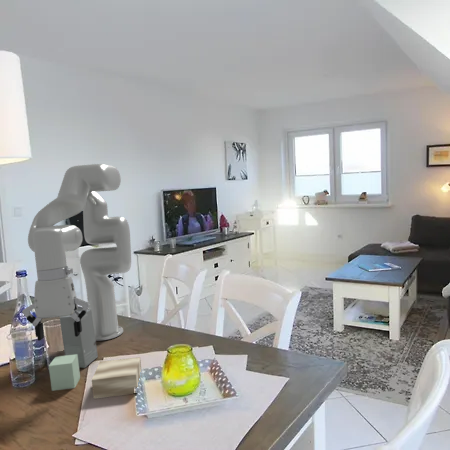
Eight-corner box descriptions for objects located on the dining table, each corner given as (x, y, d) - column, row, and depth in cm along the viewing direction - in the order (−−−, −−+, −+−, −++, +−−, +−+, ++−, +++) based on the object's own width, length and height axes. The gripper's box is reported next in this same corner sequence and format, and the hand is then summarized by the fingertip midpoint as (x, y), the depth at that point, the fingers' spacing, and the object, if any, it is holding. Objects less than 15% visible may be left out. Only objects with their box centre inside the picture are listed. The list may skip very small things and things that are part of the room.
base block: (102, 378, 117) (100, 361, 117) (141, 374, 118) (140, 356, 118) (93, 398, 107) (91, 379, 106) (137, 393, 108) (135, 374, 107)
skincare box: (85, 368, 125) (79, 316, 124) (63, 368, 127) (57, 317, 125) (99, 356, 133) (93, 307, 132) (79, 356, 135) (73, 308, 133)
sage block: (58, 380, 119) (55, 356, 118) (80, 377, 119) (77, 354, 119) (51, 390, 113) (48, 365, 112) (74, 388, 113) (71, 363, 113)
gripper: (88, 269, 117) (95, 329, 119) (24, 275, 116) (31, 335, 117) (82, 274, 110) (89, 338, 111) (13, 280, 108) (21, 345, 110)
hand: (59, 336), depth 114 cm, fingers open, 9 cm apart
